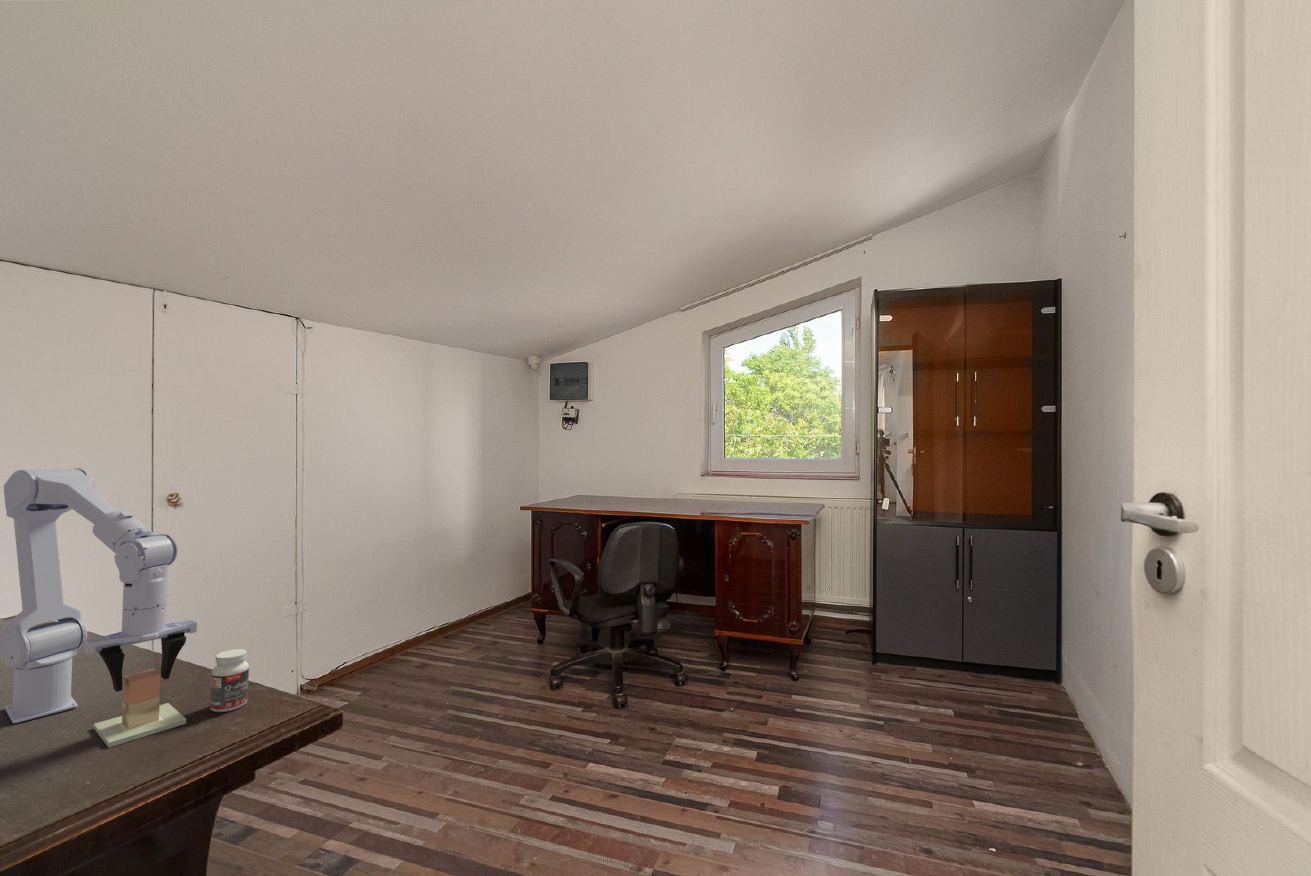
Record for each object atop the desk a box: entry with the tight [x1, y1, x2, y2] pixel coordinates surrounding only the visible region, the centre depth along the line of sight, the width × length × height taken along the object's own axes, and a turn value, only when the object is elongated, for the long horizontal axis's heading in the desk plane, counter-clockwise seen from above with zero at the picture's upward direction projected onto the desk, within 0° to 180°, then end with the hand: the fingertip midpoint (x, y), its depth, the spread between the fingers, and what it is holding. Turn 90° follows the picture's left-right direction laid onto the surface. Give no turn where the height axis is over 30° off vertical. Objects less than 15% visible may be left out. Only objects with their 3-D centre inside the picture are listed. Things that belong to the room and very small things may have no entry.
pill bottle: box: [209, 648, 250, 713], centre depth 106 cm, size 6×6×10 cm
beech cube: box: [121, 696, 161, 729], centre depth 98 cm, size 4×4×4 cm
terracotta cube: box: [122, 668, 162, 706], centre depth 98 cm, size 4×4×4 cm
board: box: [93, 702, 187, 748], centre depth 98 cm, size 10×10×1 cm
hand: (142, 683), depth 98 cm, fingers open, 6 cm apart
